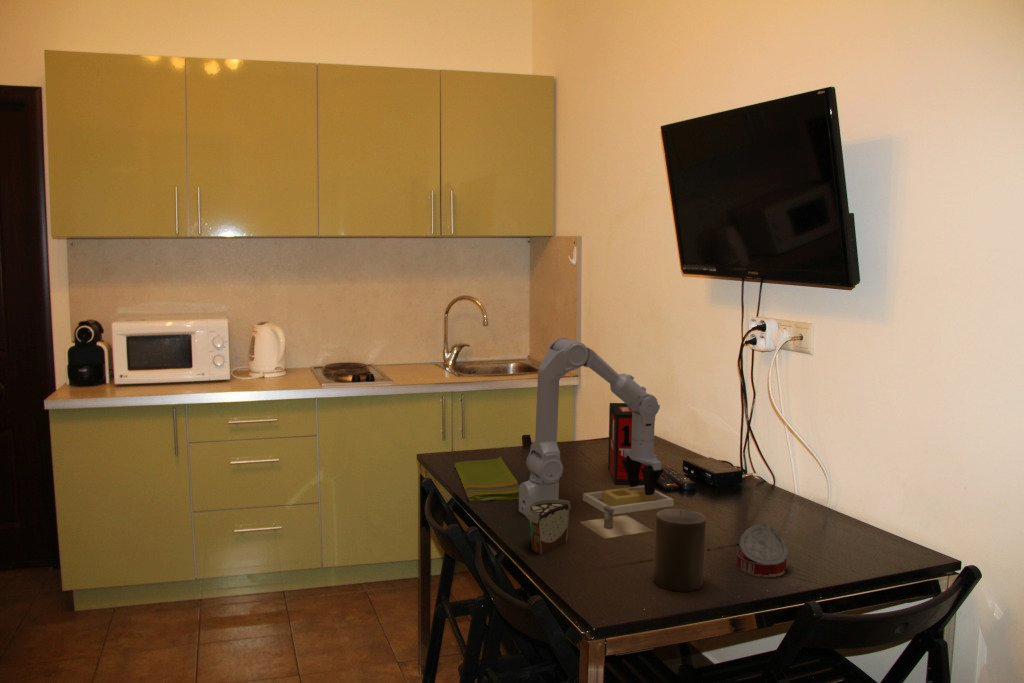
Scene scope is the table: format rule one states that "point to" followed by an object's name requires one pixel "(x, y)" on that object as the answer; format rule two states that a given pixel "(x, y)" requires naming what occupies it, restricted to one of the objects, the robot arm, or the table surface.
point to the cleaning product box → (620, 442)
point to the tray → (659, 503)
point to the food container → (548, 523)
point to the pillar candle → (679, 549)
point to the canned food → (762, 550)
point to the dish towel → (487, 480)
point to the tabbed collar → (625, 496)
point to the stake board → (615, 525)
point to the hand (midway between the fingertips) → (641, 490)
